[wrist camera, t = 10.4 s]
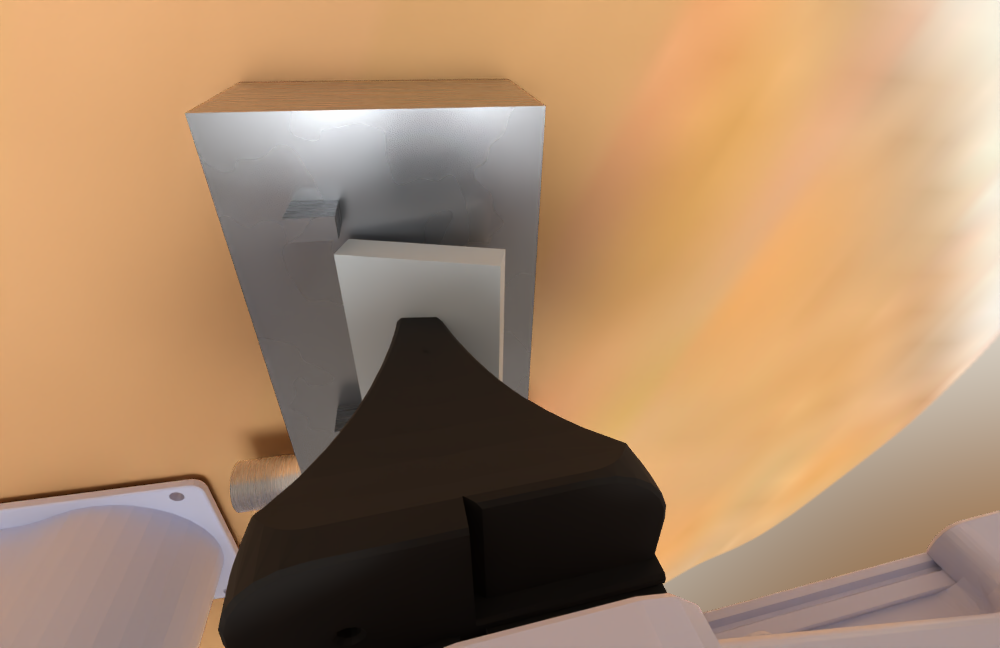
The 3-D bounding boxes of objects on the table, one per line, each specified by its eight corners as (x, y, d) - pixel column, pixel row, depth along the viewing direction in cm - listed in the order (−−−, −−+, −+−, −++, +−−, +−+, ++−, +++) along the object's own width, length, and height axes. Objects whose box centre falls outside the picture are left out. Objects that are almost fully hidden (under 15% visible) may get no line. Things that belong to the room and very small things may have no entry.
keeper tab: (365, 420, 13) (498, 434, 12) (334, 254, 10) (500, 266, 10) (376, 400, 14) (501, 412, 13) (348, 238, 11) (505, 249, 10)
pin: (261, 479, 20) (241, 552, 17) (238, 423, 18) (213, 495, 16) (524, 444, 22) (542, 506, 19) (527, 390, 20) (547, 450, 17)
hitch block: (350, 515, 22) (341, 630, 18) (239, 82, 12) (164, 124, 8) (500, 493, 24) (522, 597, 19) (508, 79, 14) (558, 115, 9)
